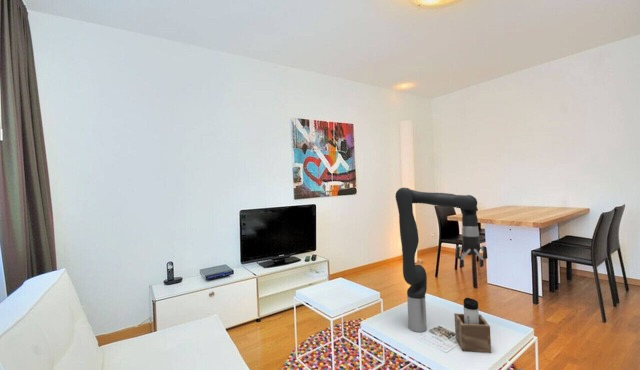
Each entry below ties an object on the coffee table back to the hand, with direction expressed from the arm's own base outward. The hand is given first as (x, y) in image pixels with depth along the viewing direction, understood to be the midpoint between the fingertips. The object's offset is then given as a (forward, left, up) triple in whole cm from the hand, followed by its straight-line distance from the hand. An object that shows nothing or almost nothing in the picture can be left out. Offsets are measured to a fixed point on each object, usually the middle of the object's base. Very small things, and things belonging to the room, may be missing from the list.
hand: (471, 266), depth 148 cm
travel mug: (+10, -4, -33) cm, 35 cm away
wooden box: (+10, -4, -34) cm, 36 cm away
